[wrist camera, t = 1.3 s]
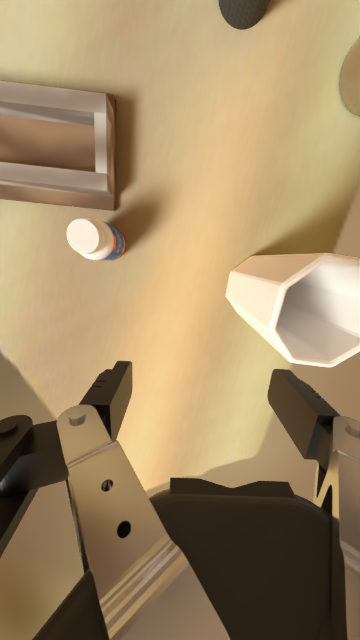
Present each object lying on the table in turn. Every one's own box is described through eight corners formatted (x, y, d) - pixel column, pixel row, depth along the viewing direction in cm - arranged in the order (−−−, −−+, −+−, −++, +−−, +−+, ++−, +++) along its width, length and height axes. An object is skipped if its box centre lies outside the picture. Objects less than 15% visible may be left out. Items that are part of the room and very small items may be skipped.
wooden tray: (-62, 78, 27) (-101, 49, 24) (115, 100, 28) (105, 74, 24) (-39, 194, 31) (-69, 186, 28) (115, 210, 32) (107, 204, 28)
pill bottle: (130, 255, 34) (112, 253, 25) (101, 264, 35) (72, 266, 25) (118, 221, 33) (94, 206, 23) (88, 231, 33) (52, 220, 24)
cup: (300, 276, 35) (422, 293, 18) (262, 327, 38) (334, 387, 20) (249, 242, 34) (326, 223, 16) (213, 298, 36) (245, 336, 19)
